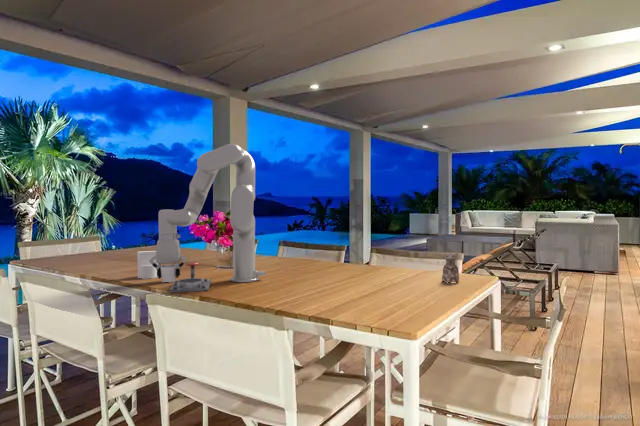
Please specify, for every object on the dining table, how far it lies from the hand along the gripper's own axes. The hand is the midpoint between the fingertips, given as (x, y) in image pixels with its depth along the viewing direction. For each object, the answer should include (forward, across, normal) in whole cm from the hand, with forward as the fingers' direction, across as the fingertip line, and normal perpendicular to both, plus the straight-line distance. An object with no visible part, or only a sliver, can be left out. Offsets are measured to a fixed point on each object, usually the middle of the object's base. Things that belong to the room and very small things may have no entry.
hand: (168, 277), depth 197 cm
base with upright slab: (+2, +11, -13) cm, 17 cm away
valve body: (+2, -11, +14) cm, 18 cm away
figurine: (+2, -121, +26) cm, 124 cm away
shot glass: (+2, 0, 0) cm, 2 cm away
